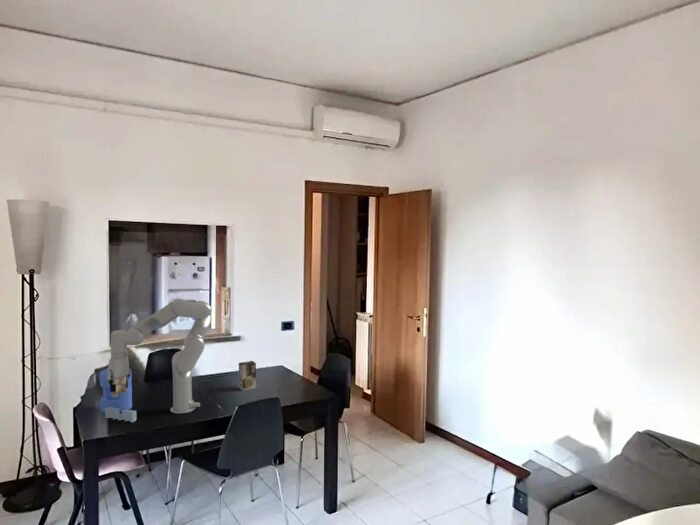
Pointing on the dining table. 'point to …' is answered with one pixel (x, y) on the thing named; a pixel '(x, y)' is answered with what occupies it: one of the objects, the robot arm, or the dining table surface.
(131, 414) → the plain gray rectangular bar
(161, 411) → the dining table surface
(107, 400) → the water jug
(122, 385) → the notched wooden block
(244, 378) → the coffee box
